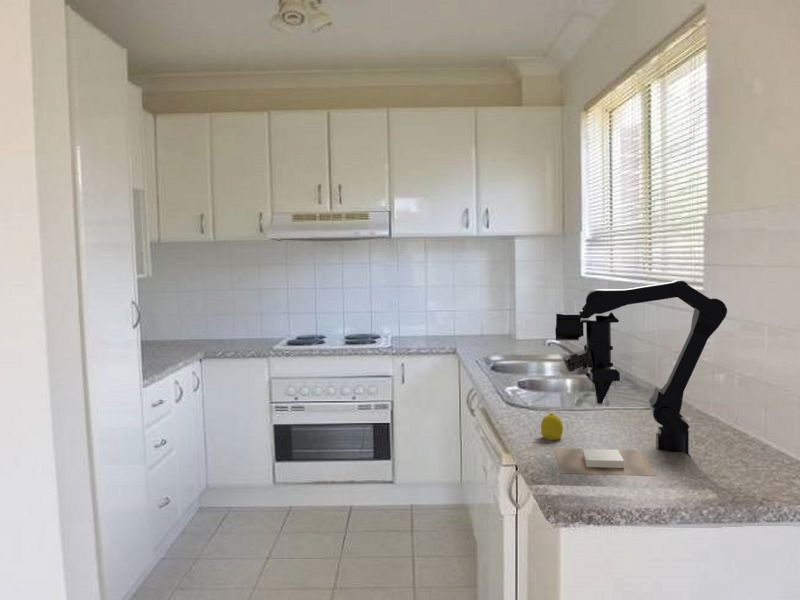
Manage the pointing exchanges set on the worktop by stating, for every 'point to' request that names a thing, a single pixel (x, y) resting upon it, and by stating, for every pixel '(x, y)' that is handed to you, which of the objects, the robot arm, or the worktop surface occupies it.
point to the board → (575, 464)
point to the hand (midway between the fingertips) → (599, 403)
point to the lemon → (551, 427)
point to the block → (602, 458)
